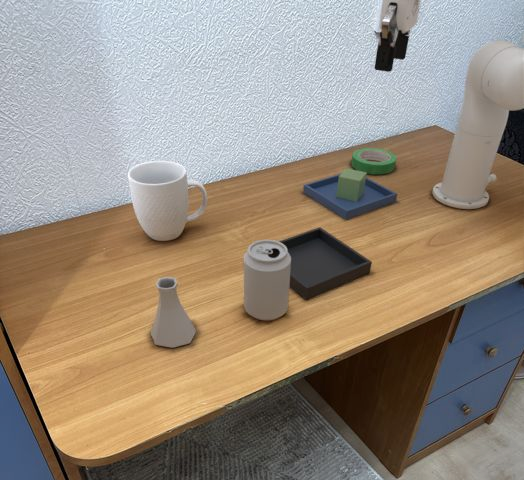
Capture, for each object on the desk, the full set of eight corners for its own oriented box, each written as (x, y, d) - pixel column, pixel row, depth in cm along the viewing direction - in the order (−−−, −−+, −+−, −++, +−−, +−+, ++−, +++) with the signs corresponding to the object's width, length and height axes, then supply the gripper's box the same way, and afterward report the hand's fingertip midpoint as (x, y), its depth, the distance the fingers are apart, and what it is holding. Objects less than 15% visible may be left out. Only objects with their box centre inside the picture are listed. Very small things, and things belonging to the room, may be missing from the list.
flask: (152, 320, 84) (143, 269, 77) (196, 318, 85) (191, 268, 78) (149, 350, 79) (139, 298, 72) (196, 348, 79) (190, 296, 73)
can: (283, 326, 84) (287, 264, 75) (239, 320, 85) (238, 258, 76) (291, 299, 89) (295, 239, 81) (249, 293, 90) (249, 233, 82)
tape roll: (367, 154, 137) (369, 144, 135) (402, 166, 131) (404, 156, 130) (342, 165, 131) (343, 155, 129) (378, 179, 125) (380, 168, 124)
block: (343, 188, 120) (345, 168, 117) (363, 193, 119) (366, 172, 115) (336, 197, 117) (338, 176, 113) (356, 202, 115) (360, 180, 112)
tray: (351, 177, 126) (352, 169, 124) (395, 202, 117) (397, 193, 115) (303, 192, 119) (303, 184, 118) (345, 219, 110) (347, 211, 109)
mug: (202, 214, 111) (197, 154, 102) (216, 239, 103) (213, 177, 95) (133, 224, 107) (123, 164, 98) (143, 251, 100) (132, 188, 91)
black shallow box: (318, 237, 104) (319, 226, 103) (369, 273, 95) (372, 261, 94) (257, 259, 98) (257, 248, 96) (305, 300, 89) (307, 288, 87)
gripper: (419, -43, 79) (397, 78, 90) (441, -52, 90) (419, 56, 102) (372, -46, 81) (357, 72, 93) (399, -55, 93) (383, 52, 104)
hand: (390, 64), depth 97 cm, fingers open, 9 cm apart
